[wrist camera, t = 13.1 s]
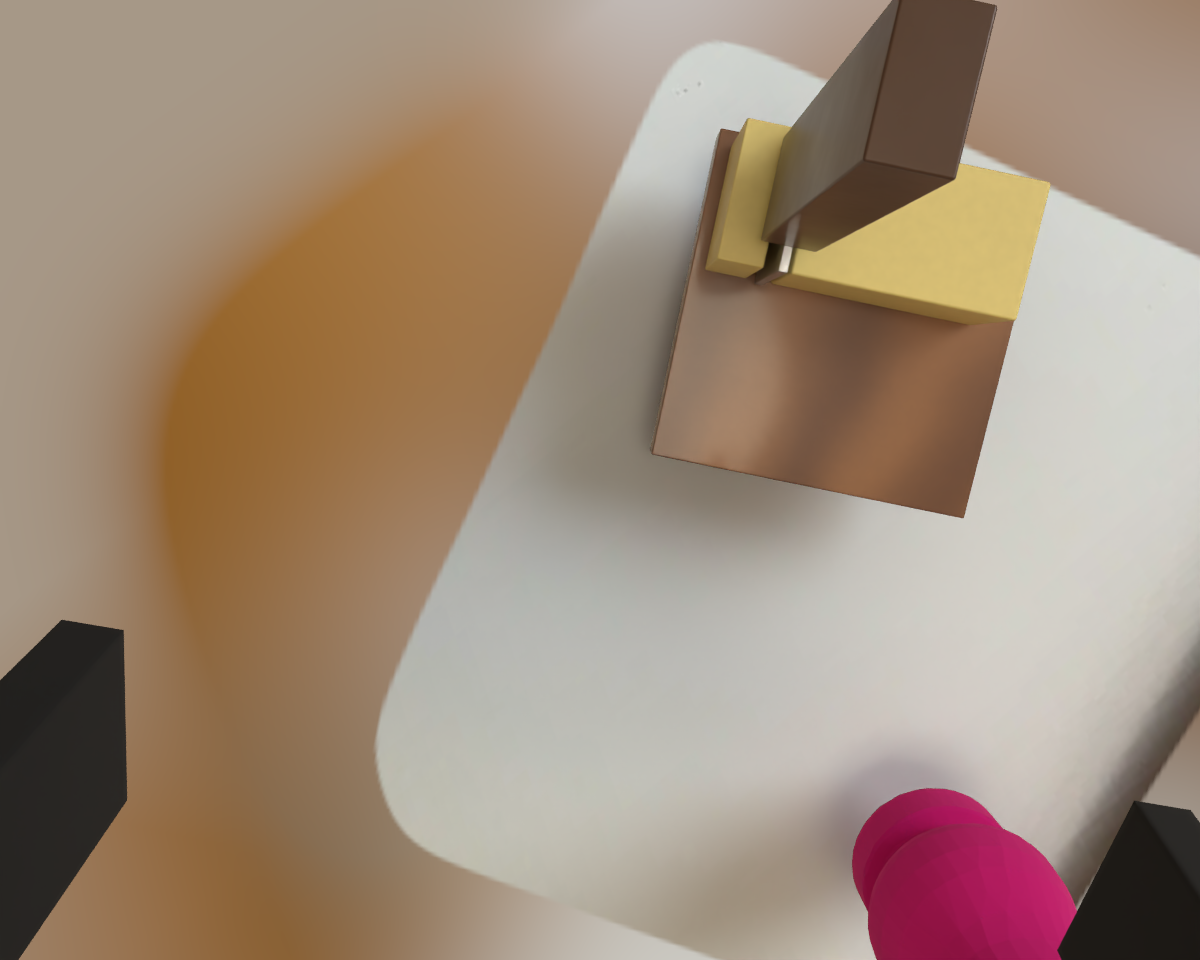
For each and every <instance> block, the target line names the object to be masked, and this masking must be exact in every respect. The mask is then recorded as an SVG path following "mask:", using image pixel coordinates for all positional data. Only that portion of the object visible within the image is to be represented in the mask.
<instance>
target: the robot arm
mask: <svg viewBox="0 0 1200 960" xmlns="http://www.w3.org/2000/svg"><path fill="white" fill-rule="evenodd" d="M125 725H126V724H125V676H124V631H123V630H119V629H113V628H107V627H102V626H95V625H90V624H83V623H78V622H72V621H65V620H61V621H60V622H59V623H58V624H57V625H56V626H55V627H54V628H53V629H52V630H51V631H50V632H49V633H48V634H47V635H46V636H45V637H44V638H43V639H42V640H41V641H40V642H39V643H38V644H37V645H36V646H35V647H34V648H33V649H32V650H31V651H30V652H29V653H28V654H27V655H26V656H25V657H24V658H22V659H21V661H19V662H18V663H17V665H15V666H14V667H13V669H12V670H11V671H9V672H8V673H7V674H6V675H5V676H4V677H3V678H2V679H1V680H0V960H19V958H20V957H21V955H22V954H23V952H24V951H25V949H26V948H27V946H28V945H29V943H30V942H31V940H32V939H33V938H34V936H35V935H36V933H37V932H38V930H39V929H40V927H41V926H42V924H43V922H44V921H45V920H46V918H47V917H48V915H49V914H50V913H51V911H52V910H53V908H54V907H55V905H56V904H57V902H58V901H59V899H60V898H61V896H62V895H63V893H64V892H65V890H66V889H67V888H68V886H69V885H70V883H71V882H72V880H73V879H74V877H75V876H76V874H77V873H78V871H79V870H80V868H81V867H82V865H83V864H84V863H85V861H86V860H87V858H88V857H89V855H90V854H91V852H92V851H93V849H94V848H95V846H96V845H97V843H98V842H99V840H100V839H101V838H102V836H103V835H104V833H105V832H106V830H107V829H108V827H109V826H110V824H111V823H112V821H113V820H114V818H115V817H116V816H117V814H118V813H119V811H120V810H121V808H122V807H123V805H124V804H125V802H126V801H127V776H126V775H127V773H126V726H125ZM1057 951H1058V953H1059V955H1060V958H1061V960H1200V822H1199V821H1198V820H1197V818H1196V817H1195V816H1194V814H1193V813H1192V812H1191V810H1186V809H1180V808H1174V807H1168V806H1162V805H1156V804H1150V803H1145V802H1139V801H1134V802H1133V804H1132V806H1131V808H1130V810H1129V812H1128V814H1127V816H1126V818H1125V820H1124V822H1123V824H1122V826H1121V827H1120V829H1119V831H1118V833H1117V835H1116V837H1115V839H1114V841H1113V843H1112V845H1111V847H1110V849H1109V851H1108V853H1107V855H1106V856H1105V858H1104V860H1103V862H1102V864H1101V866H1100V868H1099V870H1098V872H1097V874H1096V876H1095V878H1094V880H1093V882H1092V884H1091V885H1090V887H1089V889H1088V891H1087V893H1086V895H1085V897H1084V899H1083V901H1082V903H1081V905H1080V907H1079V909H1078V911H1077V913H1076V914H1075V916H1074V918H1073V920H1072V922H1071V924H1070V926H1069V928H1068V930H1067V932H1066V934H1065V936H1064V938H1063V940H1062V942H1061V943H1060V945H1059V947H1058V949H1057Z"/></svg>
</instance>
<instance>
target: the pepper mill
mask: <svg viewBox="0 0 1200 960" xmlns="http://www.w3.org/2000/svg"><path fill="white" fill-rule="evenodd" d="M852 868H853V879H854V882H855V885H856V888H857V890H858V893H859V895H860V897H861V899H862V901H863V903H864V905H865V907H866V909H867V911H868V930H869V936H870V941H871V944H872V947H873V950H874V953H875V956H876V959H877V960H1061V958H1060V955H1059V953H1058V951H1057V949H1058V947H1059V945H1060V943H1061V942H1062V940H1063V938H1064V936H1065V934H1066V932H1067V930H1068V928H1069V926H1070V924H1071V922H1072V920H1073V918H1074V916H1075V914H1076V913H1077V910H1076V907H1075V905H1074V902H1073V899H1072V897H1071V895H1070V893H1069V891H1068V889H1067V887H1066V886H1065V884H1064V883H1063V881H1062V880H1061V878H1060V877H1059V876H1058V874H1057V873H1056V871H1055V870H1054V868H1053V867H1052V866H1051V864H1050V863H1049V862H1048V860H1047V859H1046V858H1045V857H1044V856H1043V855H1042V854H1041V853H1040V852H1039V851H1038V850H1037V849H1036V848H1035V847H1034V846H1032V845H1031V844H1029V843H1028V842H1026V841H1025V840H1024V839H1022V838H1021V837H1019V836H1018V835H1015V834H1013V833H1011V832H1009V831H1007V830H1004V829H1003V828H1002V827H1001V826H1000V825H999V824H998V822H997V821H996V820H995V819H994V818H993V816H992V815H991V814H990V813H989V812H988V811H987V810H986V809H985V808H984V807H983V806H982V805H981V804H980V803H978V802H977V801H975V800H974V799H972V798H971V797H968V796H966V795H964V794H962V793H959V792H956V791H952V790H947V789H933V788H926V789H920V790H914V791H911V792H907V793H904V794H901V795H899V796H897V797H895V798H893V799H892V800H890V801H889V802H887V803H885V804H884V805H882V806H880V807H879V808H878V809H877V810H876V811H875V812H874V813H873V814H872V815H871V817H870V818H869V819H868V820H867V821H866V823H865V824H864V826H863V828H862V829H861V831H860V833H859V835H858V837H857V840H856V843H855V846H854V850H853V859H852Z"/></svg>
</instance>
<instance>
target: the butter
mask: <svg viewBox="0 0 1200 960" xmlns="http://www.w3.org/2000/svg"><path fill="white" fill-rule="evenodd" d="M791 128H792V127H788V126H784V125H779V124H774V123H769V122H765V121H760V120H755V119H751V118H748V119H747V120H746V122H745V124H744V125H743V127H742V129H741V131H740V132H739V134H738V136H737V138H736V139H735V141H734V143H733V144H732V146H731V150H730V155H729V160H728V164H727V169H726V174H725V178H724V183H723V188H722V192H721V197H720V202H719V206H718V211H717V216H716V220H715V225H714V230H713V234H712V239H711V244H710V248H709V253H708V258H707V262H706V267H705V269H706V270H708V271H713V272H718V273H722V274H727V275H732V276H737V277H742V278H747V277H748V276H750V275H752V274H753V273H755V272H757V271H759V270H760V269H762V268H763V267H764V264H765V259H766V255H767V250H768V246H769V242H765V241H762V240H761V237H762V233H763V228H764V223H765V219H766V214H767V210H768V205H769V201H770V196H771V192H772V187H773V183H774V178H775V174H776V169H777V165H778V160H779V156H780V151H781V147H782V142H783V138H784V137H785V135H786V134H787V133H788V131H789V130H790V129H791ZM1049 189H1050V183H1049V182H1046V181H1041V180H1036V179H1032V178H1027V177H1022V176H1018V175H1013V174H1008V173H1003V172H999V171H994V170H989V169H985V168H980V167H975V166H970V165H966V164H961V163H959V168H958V172H957V176H956V179H955V180H954V181H952V182H950V183H948V184H946V185H944V186H942V187H940V188H938V189H936V190H934V191H932V192H931V193H929V194H927V195H925V196H923V197H921V198H919V199H917V200H915V201H913V202H911V203H909V204H908V205H906V206H904V207H902V208H900V209H898V210H896V211H894V212H892V213H890V214H888V215H886V216H884V217H883V218H881V219H879V220H877V221H875V222H873V223H871V224H869V225H867V226H865V227H863V228H861V229H860V230H858V231H856V232H854V233H852V234H850V235H848V236H846V237H844V238H842V239H840V240H838V241H836V242H835V243H833V244H831V245H829V246H827V247H825V248H823V249H821V250H819V251H817V252H813V251H808V250H803V249H798V248H794V247H793V251H792V255H791V259H790V264H789V268H788V272H787V273H786V274H784V275H782V276H780V277H778V278H776V279H774V280H772V281H771V282H772V283H773V284H776V285H780V286H785V287H790V288H795V289H799V290H804V291H809V292H814V293H819V294H823V295H828V296H833V297H838V298H842V299H847V300H852V301H857V302H861V303H866V304H871V305H876V306H881V307H885V308H890V309H895V310H900V311H904V312H909V313H914V314H919V315H924V316H928V317H933V318H938V319H943V320H947V321H952V322H957V323H962V324H967V325H976V324H986V323H997V322H1007V321H1015V320H1016V318H1017V314H1018V310H1019V306H1020V302H1021V299H1022V295H1023V291H1024V287H1025V283H1026V279H1027V275H1028V271H1029V267H1030V263H1031V259H1032V255H1033V252H1034V248H1035V244H1036V240H1037V236H1038V232H1039V228H1040V224H1041V220H1042V216H1043V212H1044V208H1045V204H1046V201H1047V197H1048V193H1049Z"/></svg>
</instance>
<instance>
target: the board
mask: <svg viewBox="0 0 1200 960" xmlns="http://www.w3.org/2000/svg"><path fill="white" fill-rule="evenodd" d="M738 134H739V132H736V131H731V130H726V129H721V130H720V132H719V134H718V136H717V138H716V142H715V146H714V151H713V156H712V160H711V165H710V170H709V175H708V179H707V184H706V189H705V193H704V198H703V203H702V207H701V212H700V217H699V222H698V226H697V231H696V236H695V240H694V245H693V250H692V254H691V259H690V264H689V268H688V273H687V278H686V283H685V287H684V292H683V297H682V301H681V306H680V311H679V315H678V320H677V325H676V330H675V334H674V339H673V344H672V348H671V353H670V358H669V362H668V367H667V372H666V377H665V381H664V386H663V391H662V395H661V400H660V405H659V409H658V414H657V419H656V424H655V428H654V433H653V438H652V442H651V447H650V451H651V453H652V454H653V455H658V456H663V457H667V458H672V459H677V460H682V461H687V462H692V463H697V464H702V465H706V466H711V467H716V468H721V469H726V470H731V471H736V472H740V473H745V474H750V475H755V476H760V477H765V478H770V479H774V480H779V481H784V482H789V483H794V484H799V485H804V486H808V487H813V488H818V489H823V490H828V491H833V492H838V493H842V494H847V495H852V496H857V497H862V498H867V499H872V500H876V501H881V502H886V503H891V504H896V505H901V506H906V507H910V508H915V509H920V510H925V511H930V512H935V513H940V514H945V515H949V516H954V517H959V518H964V515H965V511H966V507H967V503H968V499H969V495H970V491H971V487H972V483H973V479H974V475H975V471H976V467H977V464H978V460H979V456H980V452H981V448H982V444H983V440H984V436H985V432H986V428H987V424H988V420H989V416H990V413H991V409H992V405H993V401H994V397H995V393H996V389H997V385H998V381H999V377H1000V373H1001V369H1002V365H1003V362H1004V358H1005V354H1006V350H1007V346H1008V342H1009V338H1010V334H1011V330H1012V326H1013V322H1014V321H1007V322H997V323H986V324H976V325H967V324H962V323H957V322H952V321H947V320H943V319H938V318H933V317H928V316H924V315H919V314H914V313H909V312H904V311H900V310H895V309H890V308H885V307H881V306H876V305H871V304H866V303H861V302H857V301H852V300H847V299H842V298H838V297H833V296H828V295H823V294H819V293H814V292H809V291H804V290H799V289H795V288H790V287H785V286H780V285H776V284H773V283H772V282H771V281H770V282H768V283H766V284H764V285H757V284H755V278H756V274H757V272H755V273H753V274H752V275H750V276H748V277H747V278H742V277H737V276H732V275H727V274H722V273H718V272H713V271H708V270H706V269H705V267H706V262H707V258H708V253H709V248H710V244H711V239H712V234H713V230H714V225H715V220H716V216H717V211H718V206H719V202H720V197H721V192H722V188H723V183H724V178H725V174H726V169H727V164H728V160H729V155H730V150H731V146H732V144H733V143H734V141H735V139H736V138H737V136H738Z"/></svg>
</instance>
